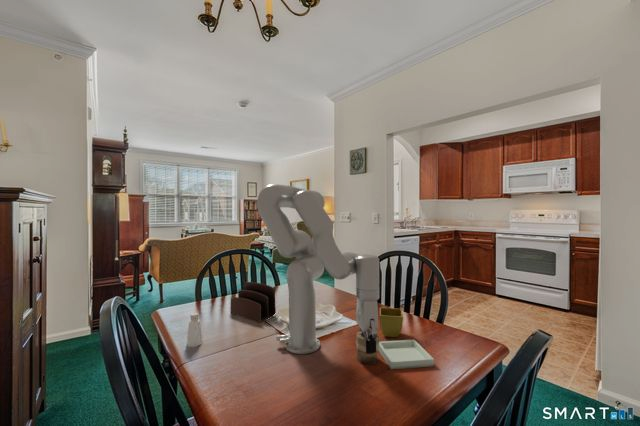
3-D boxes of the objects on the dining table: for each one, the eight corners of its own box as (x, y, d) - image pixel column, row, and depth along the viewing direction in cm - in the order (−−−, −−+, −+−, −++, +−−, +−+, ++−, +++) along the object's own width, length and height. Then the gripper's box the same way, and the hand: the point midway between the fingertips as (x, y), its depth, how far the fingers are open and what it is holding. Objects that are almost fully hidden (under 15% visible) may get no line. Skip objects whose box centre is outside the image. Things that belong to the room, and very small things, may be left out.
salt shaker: (205, 342, 111) (205, 312, 110) (194, 348, 106) (193, 317, 105) (195, 339, 113) (194, 310, 113) (183, 345, 108) (182, 315, 108)
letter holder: (246, 308, 148) (246, 279, 148) (276, 316, 137) (276, 285, 137) (230, 314, 140) (229, 284, 140) (260, 323, 129) (260, 290, 128)
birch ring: (359, 352, 94) (359, 340, 94) (354, 342, 101) (354, 331, 101) (381, 351, 95) (381, 339, 95) (374, 341, 102) (374, 329, 102)
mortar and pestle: (360, 365, 94) (360, 336, 94) (355, 354, 101) (355, 328, 101) (380, 363, 95) (380, 335, 95) (373, 353, 102) (374, 327, 102)
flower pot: (403, 340, 112) (403, 316, 111) (379, 338, 113) (379, 315, 113) (401, 330, 120) (401, 308, 120) (379, 329, 122) (379, 307, 122)
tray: (391, 369, 92) (391, 362, 92) (376, 347, 106) (376, 341, 106) (434, 366, 94) (434, 359, 94) (414, 345, 108) (414, 339, 108)
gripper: (350, 286, 106) (350, 336, 106) (363, 301, 89) (363, 361, 89) (370, 285, 107) (370, 334, 107) (388, 300, 89) (387, 359, 90)
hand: (367, 346), depth 98 cm, fingers closed on birch ring, 7 cm apart
